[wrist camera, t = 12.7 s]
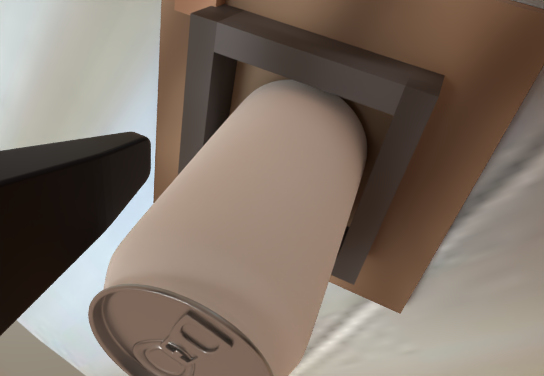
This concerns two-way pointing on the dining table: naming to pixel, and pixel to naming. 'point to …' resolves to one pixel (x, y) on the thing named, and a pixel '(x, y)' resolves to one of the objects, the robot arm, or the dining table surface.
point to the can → (237, 243)
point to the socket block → (361, 104)
